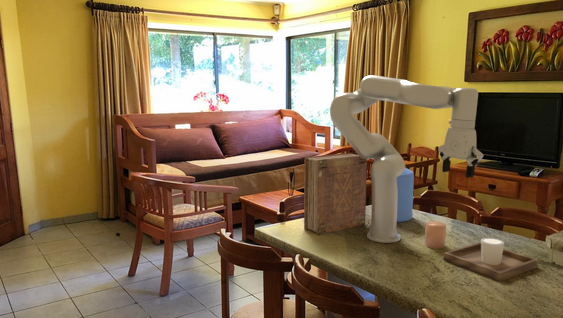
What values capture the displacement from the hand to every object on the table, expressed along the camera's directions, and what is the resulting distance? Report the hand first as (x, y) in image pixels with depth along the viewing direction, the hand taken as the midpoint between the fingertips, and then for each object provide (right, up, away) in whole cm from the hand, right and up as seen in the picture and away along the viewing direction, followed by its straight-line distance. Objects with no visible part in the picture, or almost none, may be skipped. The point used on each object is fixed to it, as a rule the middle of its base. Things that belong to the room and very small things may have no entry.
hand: (457, 174), depth 151 cm
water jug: (-10, -21, +45) cm, 51 cm away
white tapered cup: (+7, -28, -9) cm, 30 cm away
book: (-38, -23, +32) cm, 55 cm away
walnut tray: (+7, -29, -8) cm, 31 cm away
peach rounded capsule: (-5, -26, +9) cm, 28 cm away
